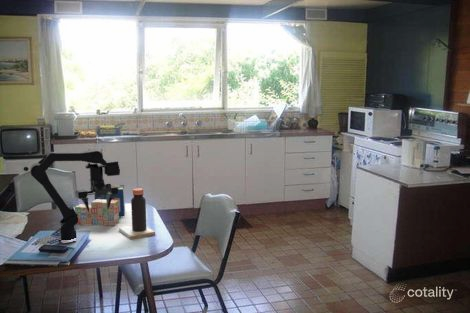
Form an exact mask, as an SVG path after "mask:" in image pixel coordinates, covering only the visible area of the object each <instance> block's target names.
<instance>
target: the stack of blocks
mask: <svg viewBox="0 0 470 313" xmlns="http://www.w3.org/2000/svg"><path fill="white" fill-rule="evenodd" d="M88 205H89V212H88V211H87V209H86V207H85V204H84V203H83V204H82V203H80V204H77V205H76V206H74V210H75V211H77V213H78V216H77V217H78V223H77V224H76V225H84V226H85V225H87V226H101V227H103V226H105V227H116V225H118V224H119V223H120V217H119V202H118V200H111V203H110V206H109V209H107V200H103V199H102V200H101V199H96V200H95V199H94V200H92V201H91V202H90V204H89V203H88Z"/></svg>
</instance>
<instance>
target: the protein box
mask: <svg viewBox="0 0 470 313" xmlns="http://www.w3.org/2000/svg"><path fill="white" fill-rule="evenodd" d="M112 186H116V187H117V188H118V189H119V193H118V194H116V195H115V196H114V197H113V198H112V200H118V202H119V218H120V217H121V216H124V217H125V214H126V203H125V202H126V200H125V199H126V198H125V197H126V195H125V185H124V184H117V185H114V184H113V185H112ZM93 195H94V200H96V199H101V200H102V199H103V200H107V199H106V195H102V196H97V195H96V194H93ZM121 218H122V217H121Z"/></svg>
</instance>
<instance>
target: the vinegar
mask: <svg viewBox="0 0 470 313" xmlns="http://www.w3.org/2000/svg"><path fill="white" fill-rule="evenodd" d="M132 195H133V197H132V198H131V200H130V203H131V204H130V205H131V225H132V230H133V231H135V232H141V231H145V230H146V226H147V211H146V210H147V200H146V198H145V197H144V188H140V187H138V188H133V189H132Z"/></svg>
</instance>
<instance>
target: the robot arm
mask: <svg viewBox="0 0 470 313" xmlns="http://www.w3.org/2000/svg"><path fill="white" fill-rule="evenodd" d="M55 162H85V163H87V164H86V165H85V166H84V167H85V169H89V181H90V182H89V183H90V187H89V189H90V190H85V189H77V190H75V193H74V196H75V197H76V198H77V199H79V200H81V201H82V202H83V204H85V207H86V209H87V211H88V212H89V205H90V204H89V197H88V196H92V195H94V194H96V195H97V196H102V195H106V199H107V209H109V206H110V203H111V200H112V198H113V197H114V196H115V195H116V194H118V193H119V189H118V188H117V187H116V186H113V185H112V184H111V183H106V184H105V180H104V175H106V177H113V176H114V177H115V176H120V173H121V169H120V165H119V161H118V160H114V161H107V160H105V159H104V156H103V153H102V152H101V151H100V150H98V149H90V150H89V149H88V150H84V151H76V152H75V151H74V152H69V151H67V152H65V151H64V152H63V151H62V152H61V151H60V152H59V151H58V152H57V151H56V152H55V151H49V152H48V153H47V154H46V155H45V156H44V157H42V158H41V159H40V160H39V161H38V162H35V163H33V164H31V166H30V168H29V171H30V175H31V177H32V178H34V180H36V181H37V182H38V184H40V185H42V187H43V189H44V190H45V191H46V193H47V194H48V195H49V197H50V198H51V200H52V201H53V203H54V204H55V205H56V207H57V208H58V209H59V211H60V213H61V216H62V217H63V218H62V219H61V220H60V221H58V223H59V228H58V235H59V239H61V240H71V239H74V238H77V230H76V228H75V227H76V225H78V224H77V223H78V217H77V216H78V213H77V211H75V207H74V206H73V205H72V204H71V205H68V204H67V203H66V201H65V200H64V199H63V197H62V196H61V194H60V192H58V190H57V189H56V187H55V185H53V183H52V181H51V180H50V178H49V176H48V173H47V172H46V171H47V170H48V169H49V168H50V167H51V166H52V165H53V164H54V163H55ZM88 204H89V205H88Z"/></svg>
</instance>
